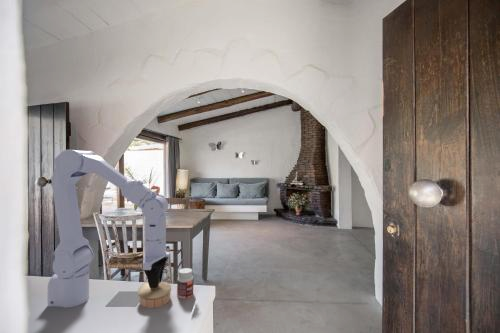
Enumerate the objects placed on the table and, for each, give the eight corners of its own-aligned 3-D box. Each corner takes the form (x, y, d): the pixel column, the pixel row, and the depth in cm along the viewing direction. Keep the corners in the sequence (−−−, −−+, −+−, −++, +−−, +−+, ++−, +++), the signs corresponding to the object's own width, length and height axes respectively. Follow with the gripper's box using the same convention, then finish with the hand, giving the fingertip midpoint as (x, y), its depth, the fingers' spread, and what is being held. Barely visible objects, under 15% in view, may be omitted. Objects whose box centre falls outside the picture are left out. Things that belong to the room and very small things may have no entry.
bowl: (135, 311, 73) (135, 299, 73) (146, 296, 81) (146, 285, 81) (165, 311, 73) (165, 299, 73) (173, 296, 81) (173, 285, 81)
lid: (132, 298, 73) (132, 281, 73) (144, 283, 82) (145, 268, 82) (165, 299, 73) (166, 282, 73) (174, 284, 82) (174, 269, 82)
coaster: (105, 309, 74) (105, 306, 74) (119, 294, 82) (119, 291, 82) (135, 309, 74) (135, 306, 74) (146, 294, 82) (146, 291, 82)
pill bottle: (189, 303, 78) (189, 274, 78) (174, 301, 79) (174, 273, 78) (195, 295, 82) (196, 268, 82) (181, 293, 83) (181, 266, 83)
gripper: (161, 246, 70) (161, 297, 70) (175, 231, 84) (175, 274, 85) (134, 246, 70) (134, 297, 70) (153, 231, 84) (153, 274, 84)
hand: (155, 284), depth 77 cm, fingers closed on lid, 2 cm apart
